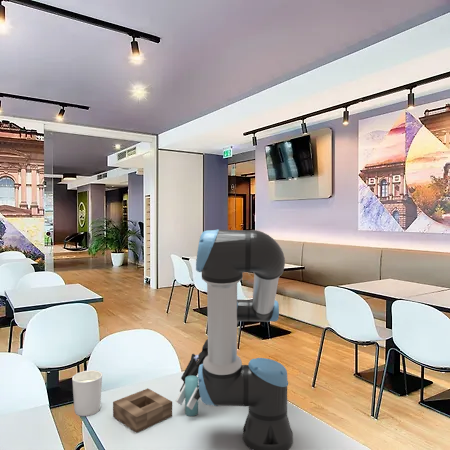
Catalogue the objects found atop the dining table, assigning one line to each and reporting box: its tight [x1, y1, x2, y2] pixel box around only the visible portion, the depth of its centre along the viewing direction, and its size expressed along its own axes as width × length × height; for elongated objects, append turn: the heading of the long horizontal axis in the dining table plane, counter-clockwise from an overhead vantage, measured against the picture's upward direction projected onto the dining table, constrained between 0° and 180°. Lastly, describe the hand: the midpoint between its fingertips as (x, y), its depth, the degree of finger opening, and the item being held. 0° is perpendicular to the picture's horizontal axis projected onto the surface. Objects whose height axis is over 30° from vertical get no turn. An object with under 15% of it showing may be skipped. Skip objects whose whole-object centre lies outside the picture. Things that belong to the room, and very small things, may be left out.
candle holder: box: [71, 370, 103, 417], centre depth 134 cm, size 10×10×12 cm
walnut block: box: [112, 388, 173, 434], centre depth 130 cm, size 14×14×5 cm
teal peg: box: [184, 375, 199, 417], centre depth 133 cm, size 4×4×12 cm
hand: (183, 405), depth 130 cm, fingers closed on teal peg, 4 cm apart
